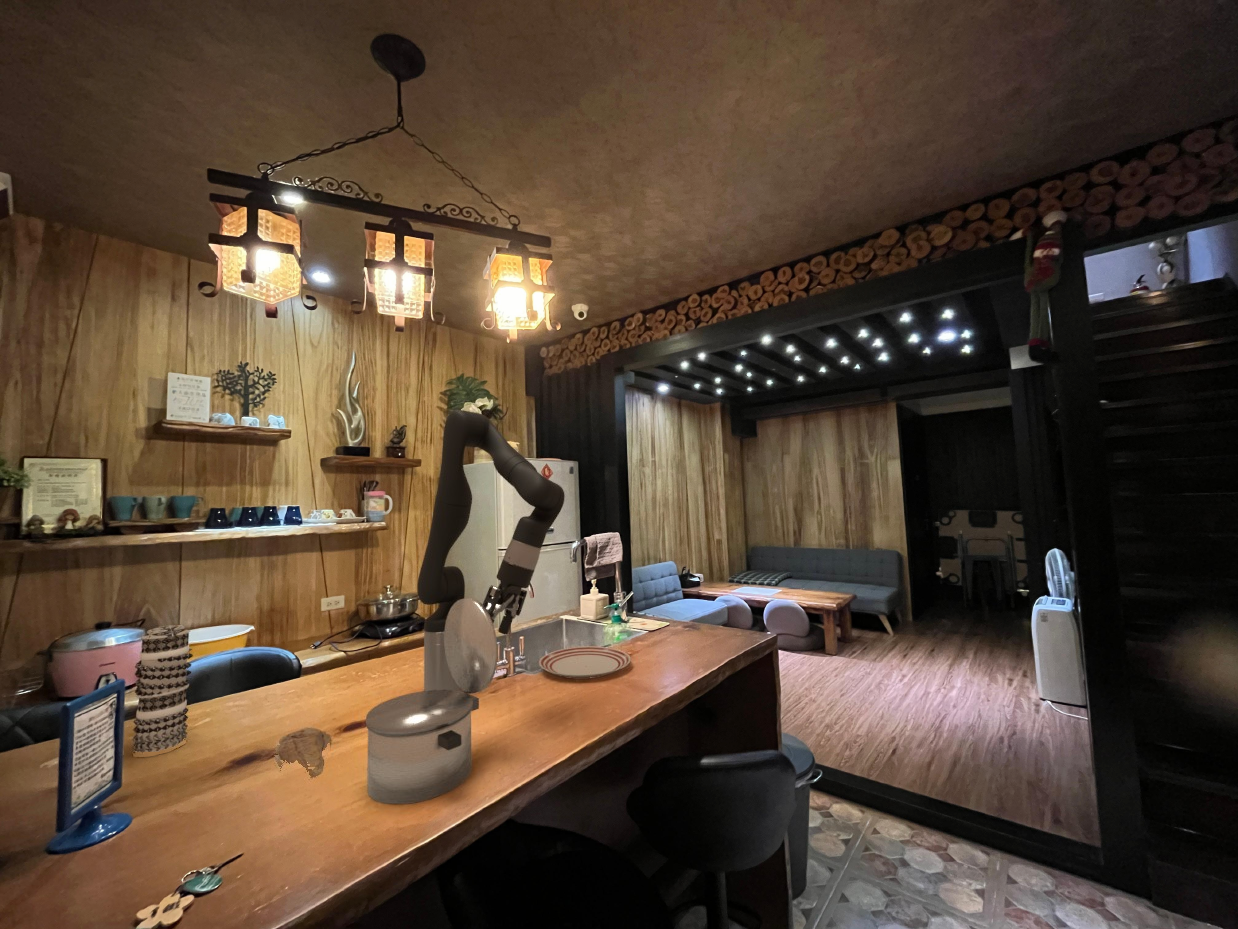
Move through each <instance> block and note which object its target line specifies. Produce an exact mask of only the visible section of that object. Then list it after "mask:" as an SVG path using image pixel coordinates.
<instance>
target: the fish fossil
mask: <svg viewBox="0 0 1238 929" xmlns="http://www.w3.org/2000/svg"><path fill="white" fill-rule="evenodd" d="M330 740H331V734H329V733H326V731H322V729H318V728H315V727H313V726H311V727H304V728H301V729H298V730H296V731H293V732H290V733H288V734H285V735H283V736H282V737H281V738H280V739H279V740H278V741H279V744H280V745H277V747H275V748H276V749H275V750H276V752H277V753H276V754H278V755H274V756H275V757H274V758H275V760H276V762H277V764H278V766H279V767H281V768H282V766H283V765H282V764H283V763H284V762H285V760H286V761H287V762H288V763H289V764H290V762H291V763H294V762H295V761H296V760H297V761H298V763H299V764H301V765H302V766H303V767H305V768H306V770H307V772H308V771H309V775H310V776H311V777H310V778H311V779H314V778H317V777H318V776H319V775H321V774H322V773H323V771H324V767H325V759H324V756H323V757H322V751H323V750H325V748H326V747H327V744H328V743H330ZM280 760H283V761H284V762H283V763H282V762H281V761H280ZM287 762H286V763H287ZM307 762H308V763H307ZM307 764H310V766H308V765H307ZM281 765H282V766H281ZM323 766H324V767H323ZM308 767H315V768H314V769H313V770H312V769H308ZM281 768H280V769H281ZM280 771H281V770H280ZM280 771H279V772H280ZM316 776H317V777H316ZM313 777H314V778H313Z"/></svg>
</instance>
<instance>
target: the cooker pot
mask: <svg viewBox="0 0 1238 929" xmlns="http://www.w3.org/2000/svg"><path fill="white" fill-rule="evenodd" d="M479 704H480V698H479V697H478V696H474V695H472V694H470V693H467V692H465V691H462V690H461V691H456V690H429V691H424V690H423V691H417V692H416V691H415V692H412V693H407V694H403V695H399V696H396V697H393V698H390V699H387V700H385V701H382V702H381V703H380V704H377V705H375V706H374V707H372V708H371V709H370V710H369V711H368V712H367V713H366V717H365V726H366V729H367V764H366V765H367V769H366V770H367V773H366V774H367V775H366V776H367V777H366V780H367V781H366V782H367V783H366V787H367V788H366V791H367V794H368V796H369V797H370V798H371V799H372V800H374V801H375V802H377V803H381V804H387V805H409V804H414V803H415V804H416V803H419V802H425V801H428V800H431V799H434V798H436V797H440V796H442V795H444V794H446V793H447V794H448V793H449V792H450V791H453V790H454V789H456V788H457V787H459V786H460V785H461V784H462V783H463V782H465V781H466V780H467V778H468V777H469V776H470V775H471V772H472V712H474V711H477V710H479V709H480V706H479Z"/></svg>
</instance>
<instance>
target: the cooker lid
mask: <svg viewBox="0 0 1238 929" xmlns="http://www.w3.org/2000/svg"><path fill="white" fill-rule="evenodd" d="M486 609H487V607H486V608H485V607H484V606H483V603H482V602H480V601H479V600H477V599H476V598H473V597H467V598H466V597H464V599H460V600H458V601H457V602H455V603H454V605H453V606H452V607H451V609H450V611H449V613H448V616H447V619H446V624H445V631H444V647H445V655H446V660H447V664H448V667H449V670H450V673H451V675H452V677H453V679H454V681H455V682H456V684H457V685H458V686H459V687H460V688H461V691H462V692H465V693H467V694H470V695H472V694H473V695H474V694H477V693H480V692H483V691H484V690H486V689H487V688H488V687H489V685H491V683H492V681H493V679H494V676H495V675H496V674H495V673H496V670H497V665H498V650H499V649H498V642H497V641H498V639H497V634H496V633H497V632H496V630H495V626H494V623H493V622H492V620H491V617H490V615H489V613H488V612H487V610H486Z"/></svg>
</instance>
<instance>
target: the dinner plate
mask: <svg viewBox="0 0 1238 929" xmlns="http://www.w3.org/2000/svg"><path fill="white" fill-rule="evenodd" d="M577 658H579V659H577ZM575 659H577V660H575ZM631 660H632V659H631V656H630V655H629V654H628V653H627V652H625V651H622V650H620V649H617V648H613V647H612V648H611V647H606V646H591V645H589V646H587V645H586V646H585V645H584V646H574V647H568V648H567V647H565V648H562V649H558V650H554V651H552V652H548V653H546V654H545V655H543V656H542V657H541V658H540V659H539V660H538V665H539V667H540V668H541V669H542V670H544V671H545V672H548V673H551V674H553V675H556V676H560V677H562V676H564V677H563V678H566V677H571V678H570V679H573V678H586V679H591V678H590V677H595V678H599V677H598V676H600V677H603V676H602V675H604V676H607V675H609V674H612V673H615V672H618V671H620V670H621V669H623V668H626V667H627V666H629V664H630V663H631ZM570 661H571V662H570ZM575 662H577V663H575ZM560 665H561V666H560ZM585 666H587V667H585ZM606 674H607V675H606Z"/></svg>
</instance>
